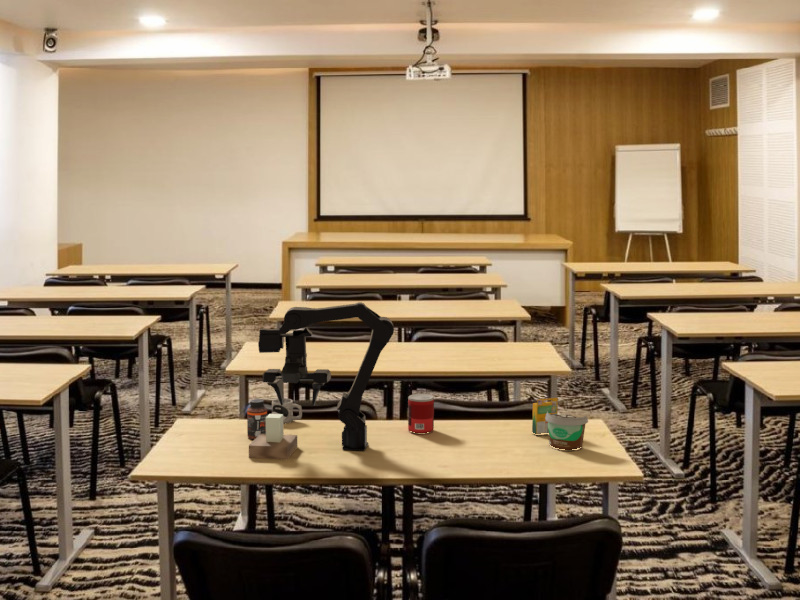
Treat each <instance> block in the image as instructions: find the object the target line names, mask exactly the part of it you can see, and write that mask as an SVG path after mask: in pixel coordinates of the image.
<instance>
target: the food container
mask: <svg viewBox="0 0 800 600" xmlns="http://www.w3.org/2000/svg"><path fill="white" fill-rule="evenodd" d="M545 419H546V420H547V421H548V432H549V435H548V443H549V444H550V445H551V446H553V447H555V448H559V449H565V450H572V449H577V448H580V447H582V448H583V444H584V437H585V429H586V424H588V423H589V419H588V416H587V414H585V415H584V416H576V415H575V416H574V415H571V414H557V415H553V414H549V413H548V411H547V413H546V417H545ZM550 445H549V446H550Z"/></svg>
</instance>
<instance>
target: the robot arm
mask: <svg viewBox="0 0 800 600" xmlns="http://www.w3.org/2000/svg"><path fill="white" fill-rule="evenodd" d="M285 312H286V313H285V314H284V317H283V323H282V324H280V325H279V328H260V329H259V335H258V341H257V343H258V344H257V345H258V346H257V347H258V351H259V352H258V353H259V354H260V353H261V354H262V353H264V354H265V353H280V352H281V349H283V350H284V347H285V356H284V357H285V360H284V364H283V367H282V369H280V368H268V369H267V370H266V371H264V372H263V374H262V383H267V385H268V386H271V388H272V389H273V390H274V392H275V394H276V396H277V399H279V401H280V404H281V405H283V402H284V384H287V383H292V384H298V383H299V382H301V380H312V381H313V383H312V399H311V402H312V403H311V404H312V406H315V405H316V402H317V399H318V396H319V393H320V390H321V387H323V386H324V385H325V384H327V383H328V382H330V380H331V379H332V374H331V370H330V369H328V368H327V369H326V368H325V369H320V368H319V369H316V370H315V371H314V372H308V371H309V370H308V364H307V358H308V357H307V356H308V353H307V342H306V339H307V337H312V335H313V332H312V331H311V330H310V329H309V328H308V327H309V326H311V325H312V326H313V325H314V324H317V323H323V322H331V321H332V322H333V321H339V320H348V319H354V318H355V319H359V320H360V321H361V322H362V323H364V324H365V325H366V326H367V327H368V328H370V329H371V333H370V334H371V335H370V338H369V343H368V347H367V349H366V352H365V354H364V357H363V359H362V362H361V364H360V366H359V368H358V371H357V372H356V376H355V378H354V380H353V383H352V386H351V387H350V389H349V390H348V392H347V393H346V392H345V391H343V392H342V395H341V399H340V400H339V402H337V409H336V410H337V417H338V419H339V421H340V422H341V423H343V424H344V427H343V430H342V432H341V447H342V448H341V449H342V450H344V451H366V449H367V447H368V445H369V442H368V439H367V438H368V436H367V435H368V430H367V429H368V425H366V415H365V414H364V413H363V412H362V411H361V405H362V399H363V397H364V393H365V391H366V389H367V385H368V383H369V381H370V378H371V376H372V373H373V371H374V369H375V366H376V364H377V362H378V360H379V357H380V354H381V353H382V351H383V350H384V348H385V347H386V346H387V345H388V343H389V342H390V340H391V338H392V337H393V335H394V331H395V327H394V323H393V322H392V320H391V318H388V317H386V316H382V315H381V316H380V315H379V314H378V313H377V312H375V311H373V309H371V308H369V307H368V306H367V305H366V304H365V303H364V302H356V303H351V304H343V305H335V306H334V305H333V306H328V307H327V306H326V307H318V308H315V307H306V306H305V307H304V306H293V307H290V308H289V309H288V310H287V311H285ZM302 328H304V329H302ZM291 331H292V332H291ZM290 332H291V333H290ZM284 338H285V341H284ZM284 343H285V344H284ZM283 383H284V384H283Z"/></svg>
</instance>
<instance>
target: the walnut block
mask: <svg viewBox="0 0 800 600" xmlns="http://www.w3.org/2000/svg"><path fill="white" fill-rule="evenodd" d="M297 448H298V434H284V438H283V439H282V441H281V442H266V434H260V435H259V436H258V437H257V438H256V439H253V441H251V443H249V445H248V458H249V459H263V460H264V459H268V460H284V461H285V460H289V458H290V457H291V456H292V455H293V454H294V452H295V451H296V450H297Z"/></svg>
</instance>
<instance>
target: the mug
mask: <svg viewBox="0 0 800 600" xmlns="http://www.w3.org/2000/svg"><path fill="white" fill-rule="evenodd" d="M293 402H294V401H293V399H291V398H284V402H283V405H281V404H280V401H279V399H278V398H276V399H272V401H271V414H283V425H285V423H286V424H290V423H292V422H294V421H296V420H301V419H302V417H303V410H302V405H299V404H297V403H293ZM294 408H296V409H298V415H297V416H295V415H294V413H293V412H294Z"/></svg>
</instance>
